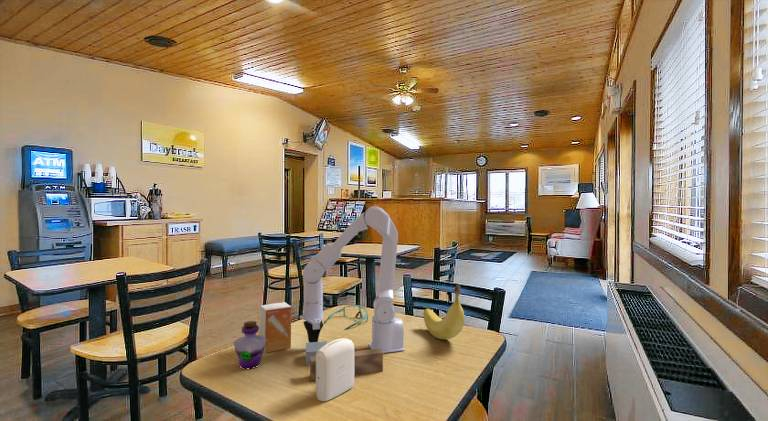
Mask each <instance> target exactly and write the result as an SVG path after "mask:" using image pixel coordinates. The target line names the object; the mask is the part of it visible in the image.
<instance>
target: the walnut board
mask: <svg viewBox="0 0 768 421" xmlns="http://www.w3.org/2000/svg"><path fill="white" fill-rule="evenodd" d="M354 363H355V364H354V376H358V375H366V374H372V373H380V372H383V370H384V353H383V352H382V351H381V350H380V349H366V350H364V349H363V350H357V351H355V350H354ZM309 378H310V381H312V382H314V381H316V356H311V357H310V365H309Z"/></svg>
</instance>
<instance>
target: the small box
mask: <svg viewBox="0 0 768 421" xmlns="http://www.w3.org/2000/svg"><path fill="white" fill-rule="evenodd" d="M259 335H261V336H263V337H265V338H267V339H266V343H265V348H264V350H262V351H263V352H264V353H265V354H266V353H271V352H276V351H281V350H286V349H287V350H288V349H291V348H292V305H289V304H288V303H287V302H285V301H284V302H276V303H275V302H273V303H269V304H263V305H259Z"/></svg>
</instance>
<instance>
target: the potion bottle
mask: <svg viewBox="0 0 768 421" xmlns="http://www.w3.org/2000/svg"><path fill="white" fill-rule="evenodd" d="M258 332H260V325H257V321H256V320H249V321H245V322H243V326H242V327H241V333H242V334H244V336H241V337H238V338H237V339H236V340H234V341H233V345H234V346H233V347H234V350H235V354H236V355H237V358H238V363H239V366H241V367H242V368H244V369H243V370H252V368H253V367H256V366H258V365H259V364H260V363H261V362H262V357H263V352H264V351H263V350H264V348H265V343H266V339H267V338H265V337H263V336H261V335H260V334H257V333H258ZM260 365H261V364H260ZM260 365H259V366H260ZM242 368H241V369H242ZM247 368H249V369H247ZM256 368H257V367H256ZM253 369H254V368H253Z"/></svg>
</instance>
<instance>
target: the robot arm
mask: <svg viewBox="0 0 768 421" xmlns="http://www.w3.org/2000/svg"><path fill="white" fill-rule="evenodd" d="M368 226H369V227H368ZM369 228H372V229H374V230H375V231H377V233H378V234H379V235H380V236H381V237H382V245H381V256H380V267H379V278H378V287H377V290H376V291H377V293H376V297H375V299H374V300H373V304H372V305H373V309H374V313H373V316H372V319H371V322H372V323H371V326H372V327H371V342H368V343H367V345H368V347H369V348H370V350H372V349H380V350H381V351H382V352H383V354H385V353H395V352H403V351H405V348H404V339H405V338H404V334H405V333H404V332H405V330H404V323H403V321H402V319H401V318H400V317H396V316H395V315H396V309H395V306H394V285H395V273H396V265H397V264H396V262H397V252H398V242H399V232H398V229H397V228H396V225H395V224H394V222H393V221H392V219H391V216H390V215H389V213H387V212H386V211H385V209H383V208H381V207H380V206H376V205H373V206H369V207H368V208H367V209H366V210H365V212H362V213H361V214H360V215H359V216H357V217H356V218H355V219H354V220H352V221H351V223H350V224H349V225H348V227H347V228H345V229H344V231H343V232H341V234H340V235H339V237H338V238H337V239H336V240H334V242H327V243H326V244H322V246H321V247H320V250H319V251H318V252H317V254H316V255H315V256H312V257H311V258H310V262H308V263H307V264H306V265H305V267H304V269H303V271H302V277H303V279H304V281H303V283H304V286H303V315H299V320H304V321H303V322H302V323H303V326H304V328H305V330H306V333H307V340H308V343H309V342H319V337H320V334H321V330H322V329H323V327H324V323H323V319H324V310H323V308H324V305H323V304H324V298H323V297H324V285H323V276H324V273H325V272H327V271H328V270H330V268H331V267H332V266H333V265H334V264H335V263H336V262H337V261H338V260H339V259H340V258H341V257H342V250H343V249H344V247H345V246H346V245H347V244H348V243H349V242H350V241H351V240H353V238H354V237H355V236H356V235H357V234H358V233H360V232H362V231H365V230H366V231H367V230H368V229H369Z"/></svg>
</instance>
